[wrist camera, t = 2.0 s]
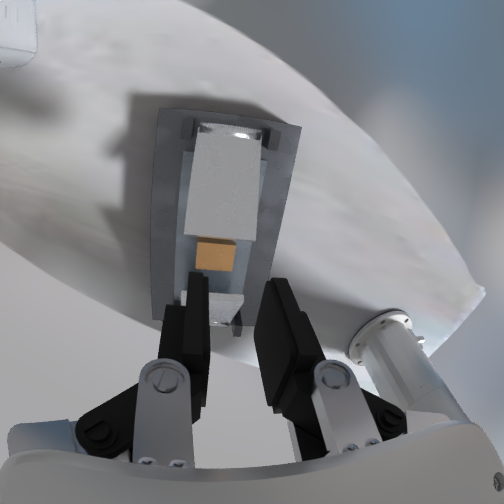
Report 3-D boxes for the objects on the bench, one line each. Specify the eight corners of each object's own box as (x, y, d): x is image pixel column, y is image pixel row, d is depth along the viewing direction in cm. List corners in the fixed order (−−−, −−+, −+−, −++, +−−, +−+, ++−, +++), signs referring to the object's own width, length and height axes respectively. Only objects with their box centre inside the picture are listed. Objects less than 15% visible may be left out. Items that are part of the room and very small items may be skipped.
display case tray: (289, 124, 25) (318, 130, 18) (252, 304, 35) (262, 352, 28) (167, 108, 23) (148, 107, 16) (157, 298, 33) (147, 345, 26)
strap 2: (228, 317, 30) (228, 327, 30) (183, 314, 29) (182, 324, 29) (243, 291, 22) (244, 305, 22) (181, 286, 21) (180, 301, 21)
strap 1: (199, 126, 21) (199, 118, 19) (259, 134, 22) (263, 127, 20) (184, 236, 19) (183, 233, 18) (253, 242, 20) (256, 240, 19)
